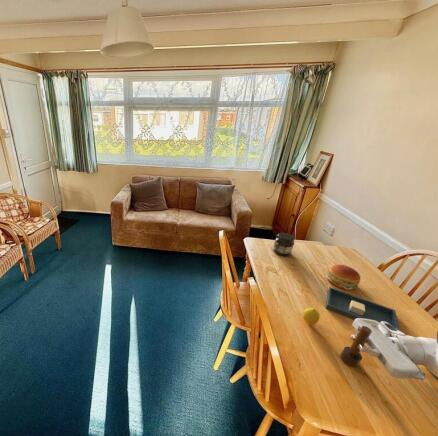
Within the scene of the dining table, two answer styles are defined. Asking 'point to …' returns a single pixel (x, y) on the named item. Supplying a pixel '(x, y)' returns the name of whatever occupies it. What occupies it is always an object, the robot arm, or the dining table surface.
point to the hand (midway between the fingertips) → (355, 342)
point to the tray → (373, 311)
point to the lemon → (311, 316)
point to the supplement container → (284, 244)
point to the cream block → (357, 307)
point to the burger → (343, 277)
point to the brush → (355, 347)
